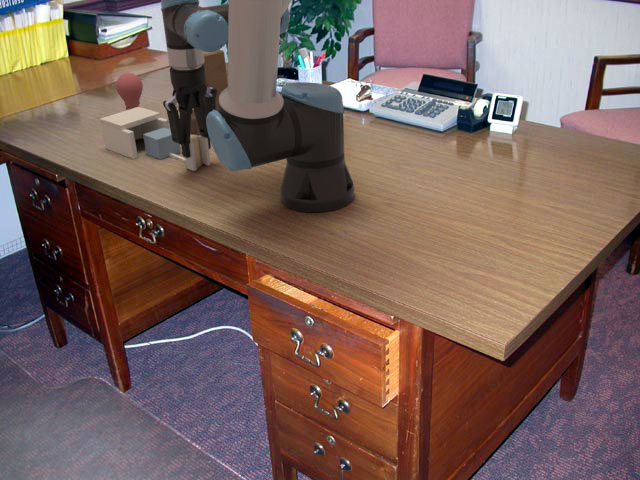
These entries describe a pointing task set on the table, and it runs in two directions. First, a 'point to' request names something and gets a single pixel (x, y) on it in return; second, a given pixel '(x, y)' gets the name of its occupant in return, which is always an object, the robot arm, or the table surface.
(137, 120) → the shelf lane
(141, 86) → the light bulb
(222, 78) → the decorative block
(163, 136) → the tethered block
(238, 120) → the robot arm
